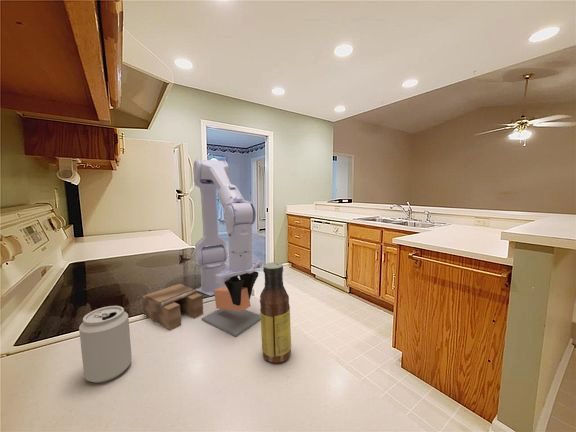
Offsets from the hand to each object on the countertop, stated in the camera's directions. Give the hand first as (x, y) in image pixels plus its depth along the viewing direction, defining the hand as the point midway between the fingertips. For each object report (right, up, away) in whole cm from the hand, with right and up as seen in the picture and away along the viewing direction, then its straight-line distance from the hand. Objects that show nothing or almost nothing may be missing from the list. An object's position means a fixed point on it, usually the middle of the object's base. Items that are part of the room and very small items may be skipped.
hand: (241, 301), depth 63 cm
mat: (-3, -6, +3) cm, 7 cm away
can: (-23, -8, -16) cm, 29 cm away
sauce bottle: (+9, -8, -11) cm, 16 cm away
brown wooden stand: (-20, -5, +5) cm, 21 cm away
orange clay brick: (-3, -2, +2) cm, 4 cm away
